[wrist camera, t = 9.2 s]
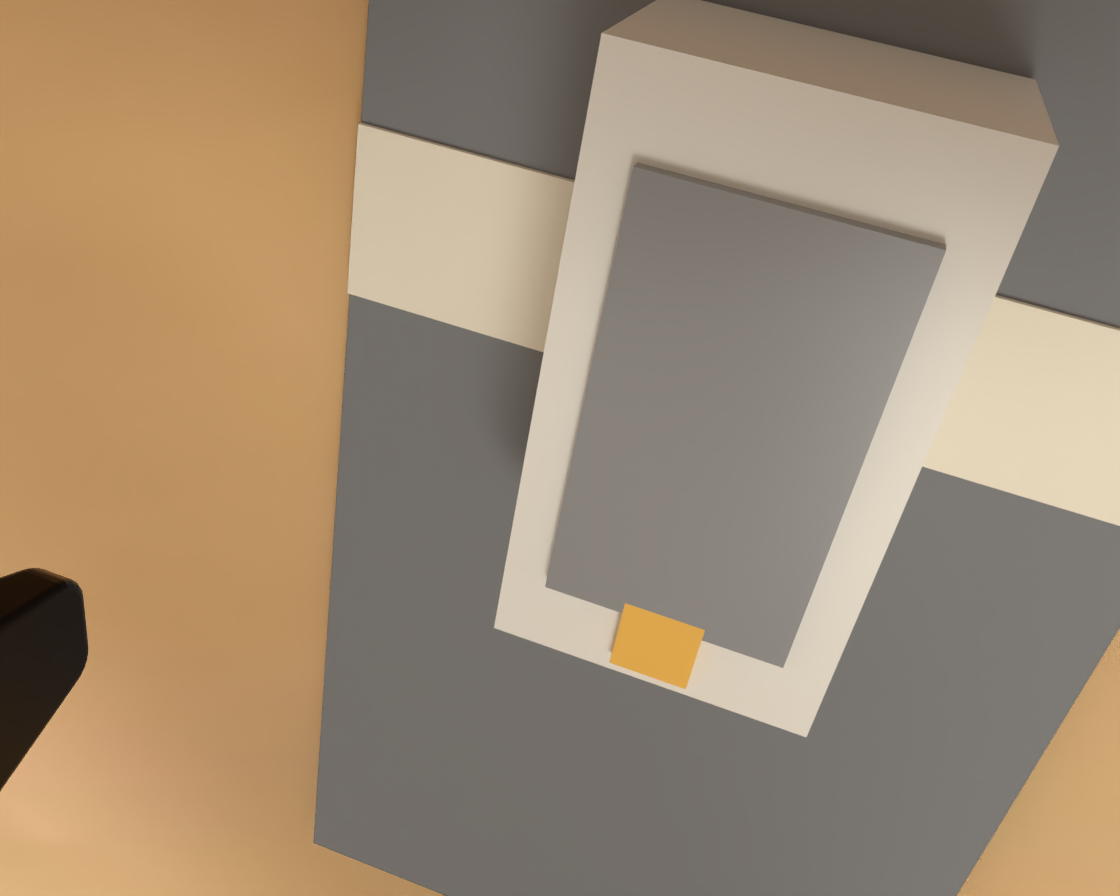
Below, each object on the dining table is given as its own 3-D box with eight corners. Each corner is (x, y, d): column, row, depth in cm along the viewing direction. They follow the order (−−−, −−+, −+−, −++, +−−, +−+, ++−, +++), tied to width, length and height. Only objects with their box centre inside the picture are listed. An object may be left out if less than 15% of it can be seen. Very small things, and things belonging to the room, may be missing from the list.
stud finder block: (1035, 79, 14) (1060, 150, 11) (828, 597, 19) (804, 746, 16) (669, -8, 15) (596, 35, 12) (560, 510, 20) (489, 635, 17)
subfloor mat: (1639, -266, 11) (1670, -271, 11) (858, 1039, 25) (856, 1063, 25) (417, -472, 14) (397, -483, 13) (323, 827, 28) (311, 846, 27)
